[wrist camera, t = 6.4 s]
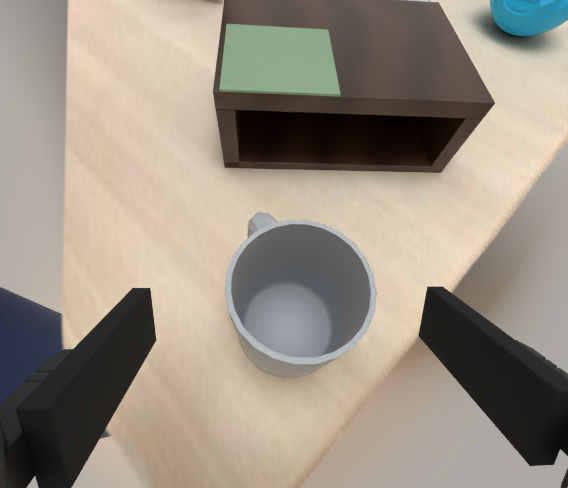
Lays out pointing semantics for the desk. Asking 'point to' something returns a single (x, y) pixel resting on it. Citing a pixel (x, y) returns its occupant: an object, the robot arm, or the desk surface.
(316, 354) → the cup
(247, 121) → the shelf
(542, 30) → the blue rounded piece
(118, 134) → the desk surface
